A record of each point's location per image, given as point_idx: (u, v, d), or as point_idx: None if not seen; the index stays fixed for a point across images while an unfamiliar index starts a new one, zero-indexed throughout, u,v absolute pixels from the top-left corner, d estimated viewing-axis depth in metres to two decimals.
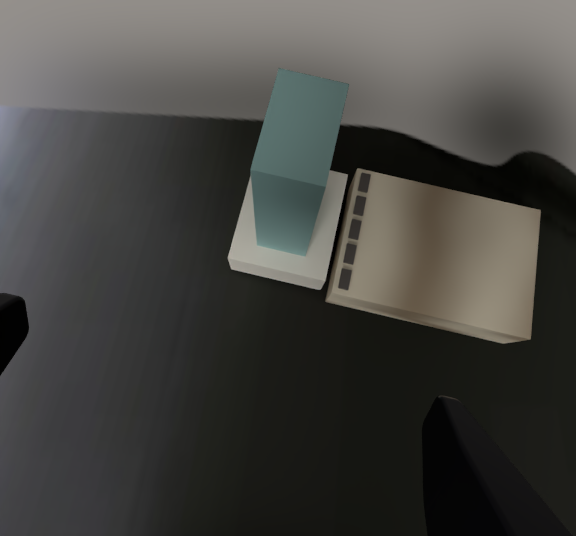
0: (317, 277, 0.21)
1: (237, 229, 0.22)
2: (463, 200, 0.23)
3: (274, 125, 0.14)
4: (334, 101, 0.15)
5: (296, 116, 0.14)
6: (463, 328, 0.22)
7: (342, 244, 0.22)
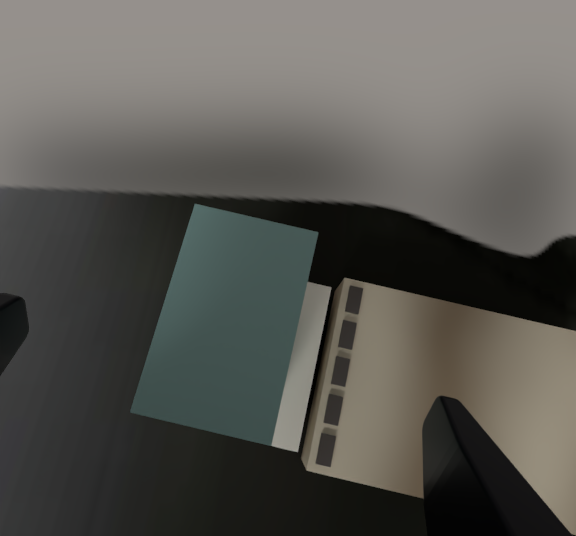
0: (286, 447, 0.15)
1: None
2: (492, 323, 0.16)
3: (181, 317, 0.08)
4: (292, 266, 0.08)
5: (223, 299, 0.08)
6: None
7: (322, 393, 0.15)
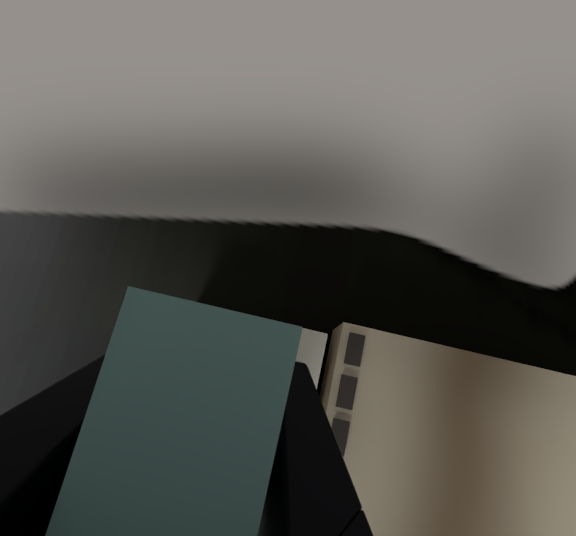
0: None
1: None
2: (517, 377, 0.14)
3: (101, 461, 0.05)
4: (264, 379, 0.06)
5: (163, 432, 0.05)
6: None
7: None
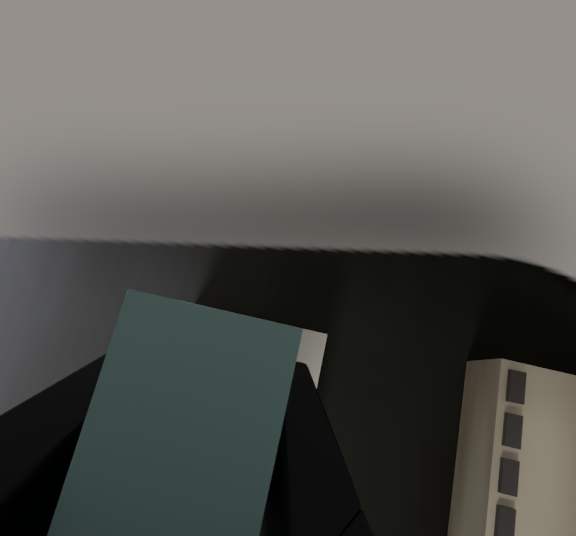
0: None
1: None
2: None
3: (101, 464, 0.05)
4: (264, 382, 0.06)
5: (164, 435, 0.05)
6: None
7: (488, 503, 0.13)
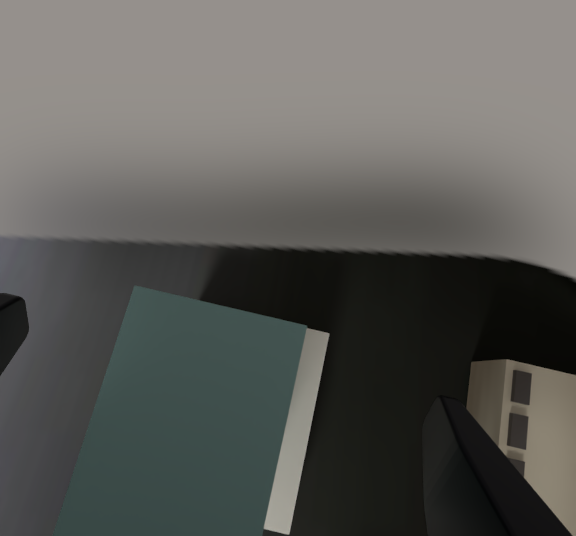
0: (276, 528, 0.12)
1: None
2: None
3: (108, 458, 0.05)
4: (268, 378, 0.06)
5: (169, 428, 0.06)
6: None
7: None
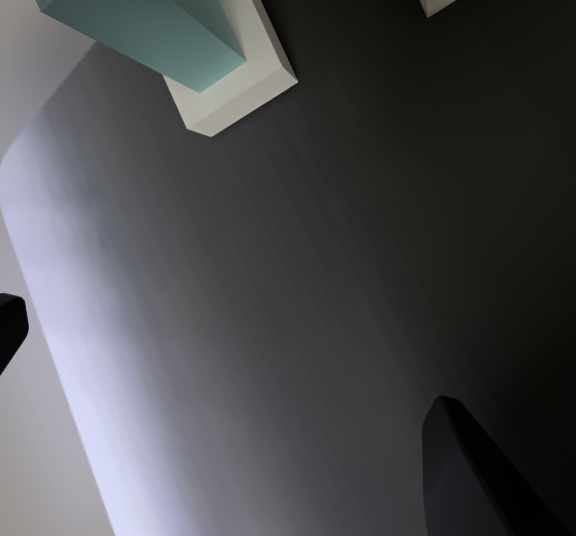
0: (273, 69, 0.17)
1: (173, 95, 0.19)
2: None
3: None
4: None
5: None
6: None
7: None
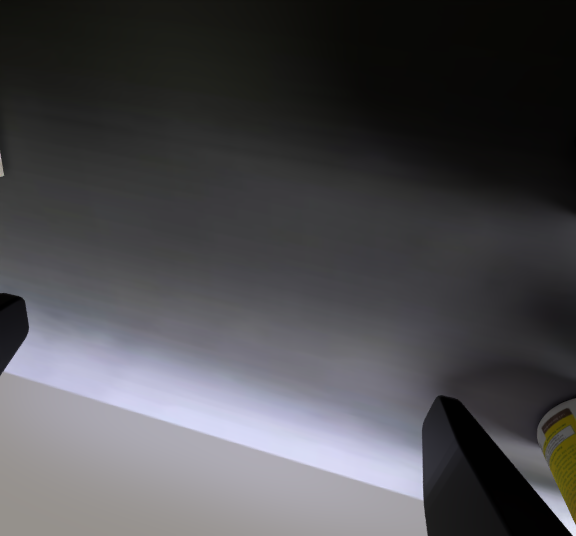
0: None
1: None
2: None
3: None
4: None
5: None
6: None
7: None
